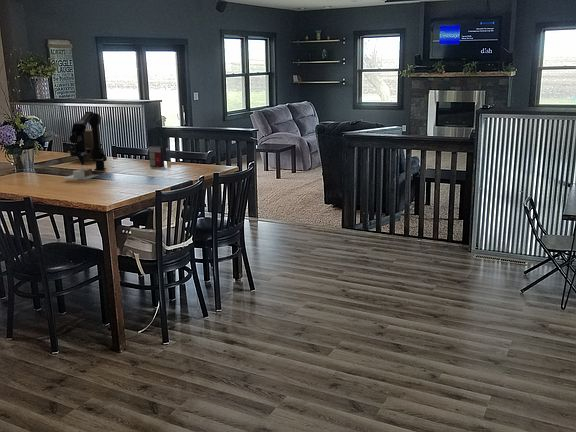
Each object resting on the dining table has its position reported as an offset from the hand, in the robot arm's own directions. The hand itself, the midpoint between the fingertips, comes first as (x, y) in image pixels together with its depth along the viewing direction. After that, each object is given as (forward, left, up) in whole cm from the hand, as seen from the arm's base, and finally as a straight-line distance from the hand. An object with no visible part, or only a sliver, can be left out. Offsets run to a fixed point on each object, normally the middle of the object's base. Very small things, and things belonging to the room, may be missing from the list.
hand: (82, 165), depth 394 cm
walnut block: (-5, 0, -5) cm, 7 cm away
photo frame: (-70, -38, -8) cm, 80 cm away
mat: (+4, 0, -8) cm, 8 cm away
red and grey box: (-48, +32, -8) cm, 58 cm away
